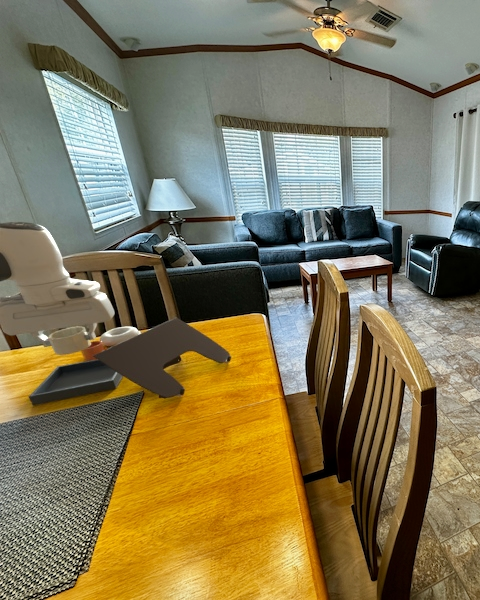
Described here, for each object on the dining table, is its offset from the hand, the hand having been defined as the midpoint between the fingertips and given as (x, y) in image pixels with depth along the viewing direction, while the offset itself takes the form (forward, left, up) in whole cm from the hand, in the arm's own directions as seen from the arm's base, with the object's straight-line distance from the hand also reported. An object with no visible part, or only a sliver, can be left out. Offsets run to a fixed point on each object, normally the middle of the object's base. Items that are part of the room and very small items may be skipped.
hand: (71, 342), depth 83 cm
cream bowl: (0, 0, -2) cm, 2 cm away
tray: (0, 0, -12) cm, 12 cm away
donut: (+1, +24, -12) cm, 27 cm away
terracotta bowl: (-3, +15, -12) cm, 19 cm away
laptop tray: (+22, -6, -12) cm, 26 cm away
